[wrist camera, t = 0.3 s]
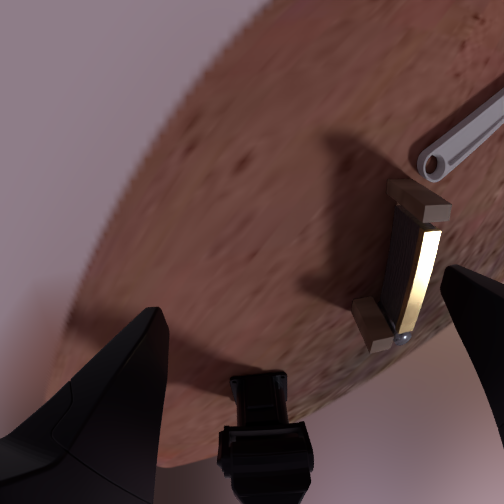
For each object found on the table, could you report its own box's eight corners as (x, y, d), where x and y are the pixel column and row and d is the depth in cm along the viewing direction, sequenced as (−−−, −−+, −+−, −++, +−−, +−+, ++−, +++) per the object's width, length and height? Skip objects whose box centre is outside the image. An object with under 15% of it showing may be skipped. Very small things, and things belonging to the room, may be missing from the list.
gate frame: (371, 311, 27) (391, 351, 22) (348, 311, 27) (366, 353, 22) (413, 179, 20) (453, 204, 16) (388, 174, 20) (427, 199, 15)
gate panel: (389, 309, 26) (408, 343, 22) (375, 312, 26) (393, 347, 22) (409, 204, 21) (441, 231, 17) (392, 205, 21) (424, 232, 17)
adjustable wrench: (420, 183, 21) (431, 190, 20) (390, 116, 18) (402, 119, 17) (546, 91, 15) (556, 94, 13) (530, 41, 12) (540, 42, 10)
